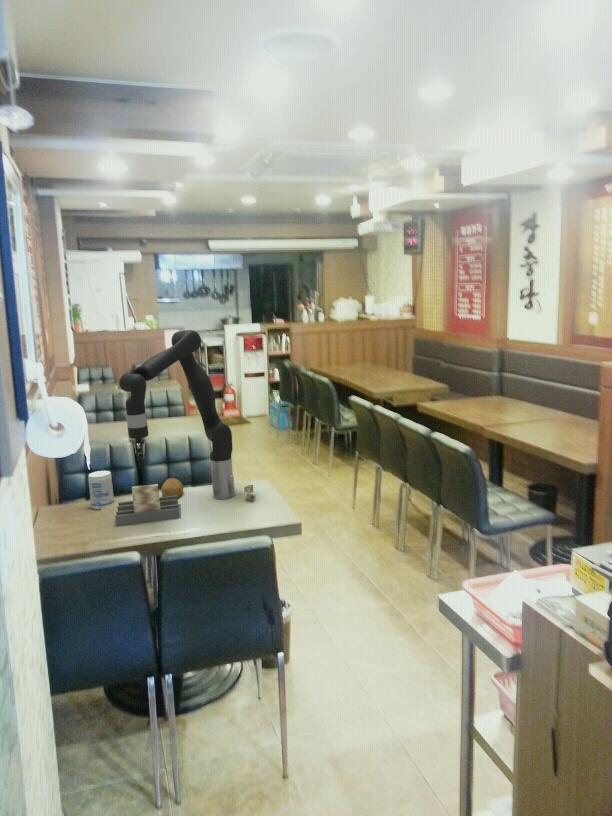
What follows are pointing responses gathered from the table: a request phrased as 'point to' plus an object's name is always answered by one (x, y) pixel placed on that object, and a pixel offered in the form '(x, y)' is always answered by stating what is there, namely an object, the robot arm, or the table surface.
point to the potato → (172, 488)
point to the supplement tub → (100, 489)
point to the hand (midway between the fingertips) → (142, 465)
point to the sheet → (146, 498)
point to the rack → (167, 512)
